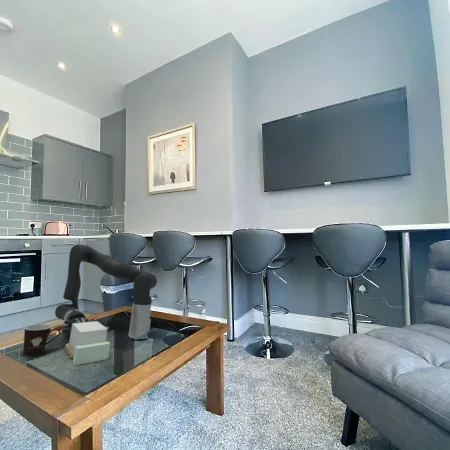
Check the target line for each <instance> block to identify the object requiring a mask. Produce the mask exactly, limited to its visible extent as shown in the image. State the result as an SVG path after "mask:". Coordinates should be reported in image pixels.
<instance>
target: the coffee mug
mask: <svg viewBox="0 0 450 450" xmlns="http://www.w3.org/2000/svg"><path fill="white" fill-rule="evenodd" d="M51 328H52V325H50V324H45V323H39V324H37V323H36V324H30V325H28V326H27V325H26V326H25V327H24V335H23V352H22V355H23V356H24V357H36V356H40V355H42V354H43V353H44V350H45V348H46V346H47V345H48V344H50V343H51V342H53V341H55V340H56V339H57V338H58V337H59V336H60V335H61V330H60V329H59V328H53V329H51ZM54 331H57V332H58V334H57V335H56V336H55V337H54V338H52V339H50V340H49V341H48V338H49V335H50V334H51V333H52V332H54Z"/></svg>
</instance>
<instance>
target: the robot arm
mask: <svg viewBox="0 0 450 450" xmlns="http://www.w3.org/2000/svg"><path fill="white" fill-rule="evenodd" d="M68 256H69V257H68V269H67V277H66V283H65V286H64V287H65V288H64V290H63V292H64V293H63V297H62V298H63V299H64V300H67V301H71V303H70V304H69V303H61V304H59V305H57V306H56V308H55V310H54V314H55V317H56V318H57V319H59V320H62V321H63V326H62V327H63V329H64V328H65V329H72V324H73V323H84V322H94V321H95V319H94V318H91V319H88V318H86V317H87V316H86V315H85V314H84V313H83V312H82V311H81V310H80V309H79V295H80V290H81V287H82V286H81V285H82V280H81V274H80V268H81V265H82V264H81V263H82V262H83V263H87V264H91V265H94V266H96V267H98V268H99V270H101V271H102V272H103V273H105V274H107V275H110V276H111V277H113V278H114V277H115V278H118V279H122V280H127V281H131V282H133V289H132V299H133V301H132V307H131V308H132V309H131V315H130V323H129V330H128V335H127V337H128V336H129V337H130V338H135V337H139V336H142V335H144V334H146V333H147V332H149V333H150V329H151V320H152V319H151V318H150V316H151V308H152V302H153V301H152V300H153V299H152V297H151V294H150V293H151V289H153V288H155V287H156V286H157V285H158V279H157V277H156V275H155V274H153V273H152V272H148V271H145V270H142V269H139V268H137V267H135V266H133V265H131V264H128V263H127V262H126V261H125V262H124V261H122V260H121V259H118V258H116V257H113V256H110V255H107V254H104V253H101V252H100V251H98V250H96V249H94V248H93V247H92V246H88V245H84V244H81V243H80V244H75V245H73V246H72V247H71V249H70V251H69V255H68Z"/></svg>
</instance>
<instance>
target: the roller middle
mask: <svg viewBox="0 0 450 450" xmlns="http://www.w3.org/2000/svg"><path fill="white" fill-rule="evenodd" d="M72 349H73V348H72V347H71V346H67V350H66V355H69V351H70V350H72Z"/></svg>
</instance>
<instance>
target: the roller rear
mask: <svg viewBox="0 0 450 450" xmlns="http://www.w3.org/2000/svg"><path fill="white" fill-rule="evenodd" d="M67 346H71V345H70V344H69V342H68V343H65V345H64V352H66V350H67Z"/></svg>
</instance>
